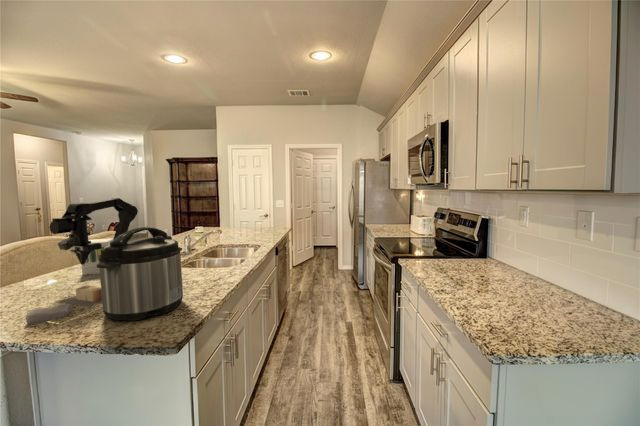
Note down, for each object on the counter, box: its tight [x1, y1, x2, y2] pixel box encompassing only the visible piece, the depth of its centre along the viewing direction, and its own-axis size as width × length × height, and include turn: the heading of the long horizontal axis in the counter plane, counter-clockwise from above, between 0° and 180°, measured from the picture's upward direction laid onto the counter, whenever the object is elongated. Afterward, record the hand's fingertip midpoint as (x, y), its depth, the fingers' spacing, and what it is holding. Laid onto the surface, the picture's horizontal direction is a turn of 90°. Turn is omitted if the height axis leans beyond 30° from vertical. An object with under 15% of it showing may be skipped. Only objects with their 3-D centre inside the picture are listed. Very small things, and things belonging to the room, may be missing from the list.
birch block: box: [75, 284, 102, 302], centre depth 129 cm, size 6×5×11 cm
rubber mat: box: [57, 295, 102, 307], centre depth 130 cm, size 14×18×1 cm
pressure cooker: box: [97, 226, 184, 321], centre depth 118 cm, size 30×28×32 cm
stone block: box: [25, 303, 72, 325], centre depth 113 cm, size 12×5×10 cm
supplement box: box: [80, 237, 114, 276], centre depth 173 cm, size 13×13×18 cm
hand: (82, 264), depth 141 cm, fingers closed
